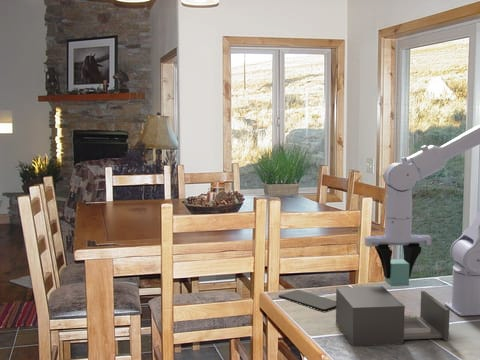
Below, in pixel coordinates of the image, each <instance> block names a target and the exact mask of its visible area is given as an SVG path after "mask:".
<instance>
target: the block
mask: <svg viewBox="0 0 480 360" xmlns="http://www.w3.org/2000/svg"><path fill="white" fill-rule="evenodd" d="M384 281H385V283H386V284H388V285H389V286H390V287H405V286H408V287H409V286H410V278H409V263H408V262H406V261H405V260H404V258H400V259H398V258H395V259H394V258H393V259H392V258H391V263H390V278H386V277H384Z"/></svg>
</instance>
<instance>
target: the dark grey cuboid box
mask: <svg viewBox="0 0 480 360" xmlns="http://www.w3.org/2000/svg"><path fill="white" fill-rule="evenodd" d="M335 295H336V296H335V301H336V309H335V323H336V324H337V326H338V327H339V329H340V330H341V331H342V333H343V334H344V336H345V337H346V339H347V340H348V341H349V342H350V344H351V346H352V347H353V346H354V347H357V346H358V347H360V346H361V347H362V346H381V345H382V346H384V345H404V343H405V341H404V340H405V339H404V317H405V308H406V307H405V305H404V304H403V303H402V302H401V301H400V300H398V299H397V298H396V297H395V296H394V295H393V294H392V293H391V292H390V291H389V290H387V289H386V288H385V287H384V286H357V287H356V286H353V287H351V286H350V287H347V286H346V287H336V291H335Z"/></svg>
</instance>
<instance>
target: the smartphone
mask: <svg viewBox="0 0 480 360" xmlns="http://www.w3.org/2000/svg"><path fill="white" fill-rule="evenodd" d="M278 298H281V299H284V300H286V301H289V300H291V301H290V302H292V301H294V302H293V303H295V302H298V303H301V304H303V305H302V306H304V305H306V306H305V307H307V306H309V307H308V308H310V307H312V308H311V309H313V308H315V309H314V310H316V309H318V310H317V311H319V310H321V311H320V312H322V311H327V312H329V311H328V310H330V311H332V309H333V310H336V309H335V308H336V300H334V299H332V298H331V299H330V298H326V297H323V296H321V295H317V294H313V293H311V292H307V291H304V290H299V289H295V290H291V291H287V292H284V293H280V294H278ZM298 303H297V304H298ZM301 304H300V305H301Z"/></svg>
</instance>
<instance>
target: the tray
mask: <svg viewBox="0 0 480 360" xmlns="http://www.w3.org/2000/svg"><path fill="white" fill-rule="evenodd" d="M450 310H451V309H450V308H449V307H447V306H446V305H445V304H443V303H441V302H440V301H439V300H437V299H436V298H434V297H433V296H432V295H431V294H429V293H428V292H426V291H425V290H421V291H420V311H419V312H420V314H419V315H420V316H419V317H418V315H417V316H416V315H415V316H404V340H421V339H422V340H425V339H426V340H427V339H443V341H449V340H450V339H449V338H450V337H449V334H450Z"/></svg>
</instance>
